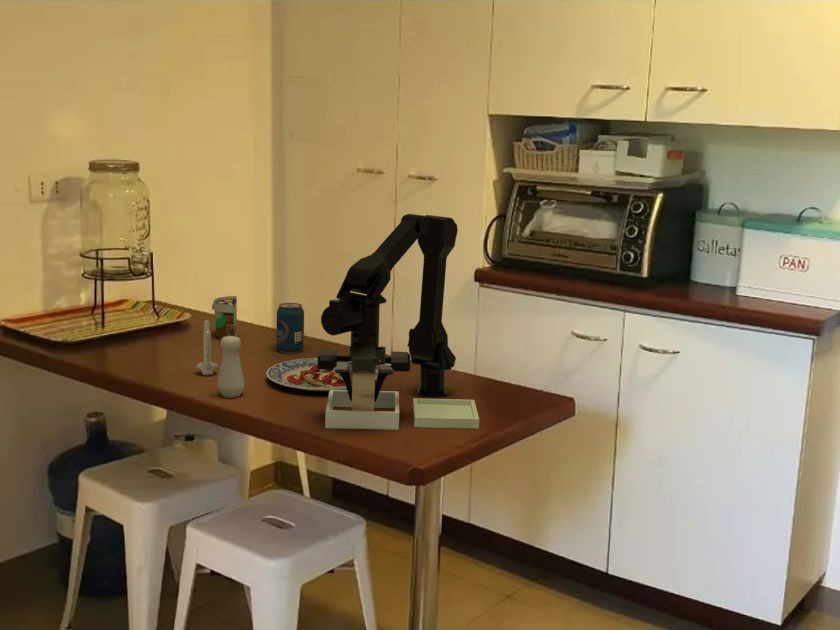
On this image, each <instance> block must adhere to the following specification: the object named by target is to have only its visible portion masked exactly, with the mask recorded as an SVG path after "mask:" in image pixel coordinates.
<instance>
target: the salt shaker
mask: <svg viewBox="0 0 840 630" xmlns="http://www.w3.org/2000/svg"><path fill="white" fill-rule="evenodd" d="M241 344H242V342H241V338H240V337H238V336H226V337H223V338H222V339H221V340H220V348H221V349H222V354H221V355H222V356H221V361H220V368H219V374H218V379H217V388H218V390H219V392H220V395H221V396H222V397H223V398H228V399H232V398H233V399H234V398H238V397H240V396H241V394H242V392H243V391H244V388H245V386H246V383H245V380H244V379H245V378H244V374H243V368H242V363H241V359H240V358H241V357H240V352H239V349H240V348H241V347H242V345H241Z"/></svg>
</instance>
